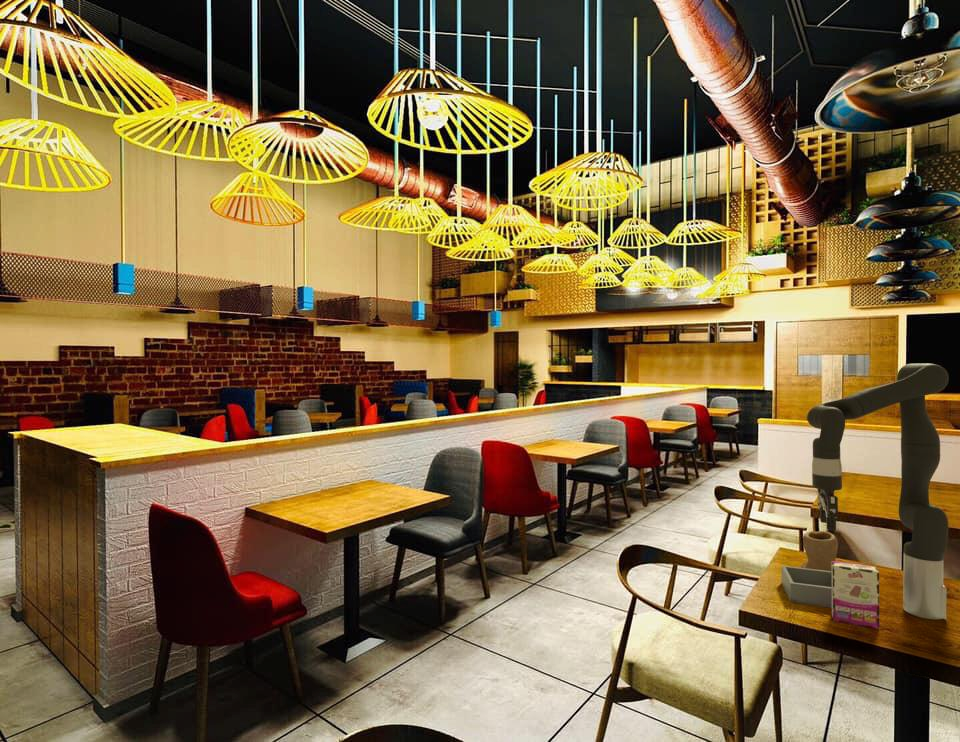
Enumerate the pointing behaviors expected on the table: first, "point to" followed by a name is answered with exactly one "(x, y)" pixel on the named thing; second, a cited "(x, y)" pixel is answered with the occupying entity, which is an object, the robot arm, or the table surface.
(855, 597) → the candy bar box
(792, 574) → the tote
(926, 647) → the table surface
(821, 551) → the stone cup
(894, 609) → the table surface
